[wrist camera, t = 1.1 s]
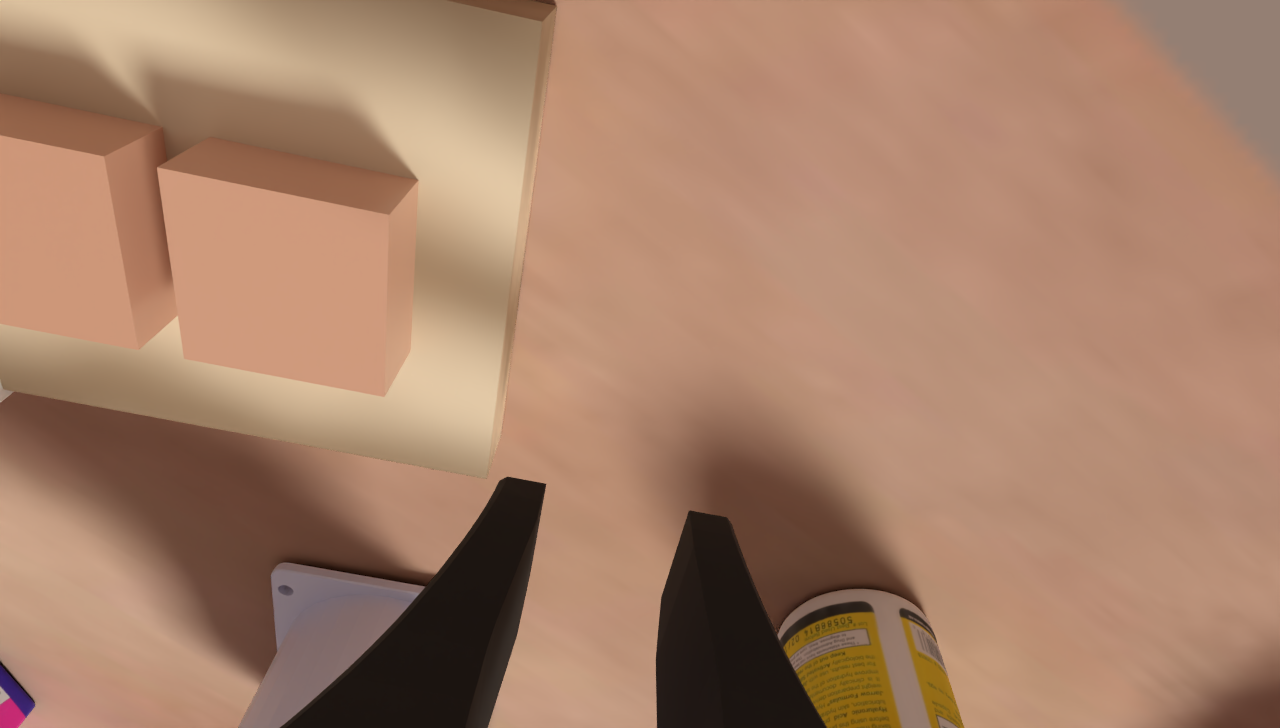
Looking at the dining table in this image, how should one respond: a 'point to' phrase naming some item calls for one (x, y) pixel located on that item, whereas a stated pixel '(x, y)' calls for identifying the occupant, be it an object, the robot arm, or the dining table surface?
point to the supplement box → (12, 702)
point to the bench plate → (331, 131)
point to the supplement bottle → (869, 661)
